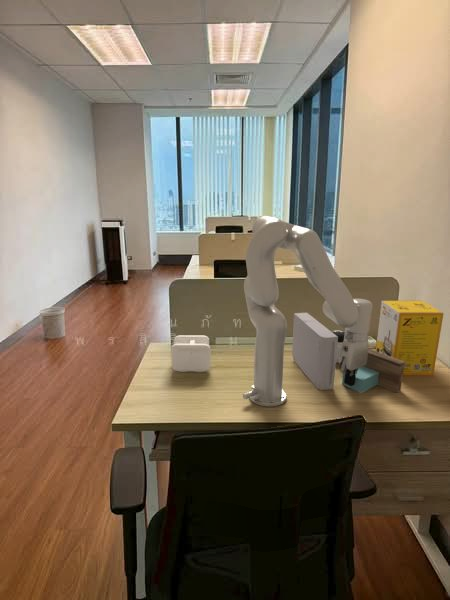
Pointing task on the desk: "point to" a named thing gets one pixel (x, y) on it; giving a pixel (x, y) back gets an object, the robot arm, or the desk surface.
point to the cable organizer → (191, 353)
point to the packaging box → (410, 334)
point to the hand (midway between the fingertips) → (349, 384)
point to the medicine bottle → (339, 343)
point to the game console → (314, 350)
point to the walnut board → (386, 369)
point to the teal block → (364, 379)
